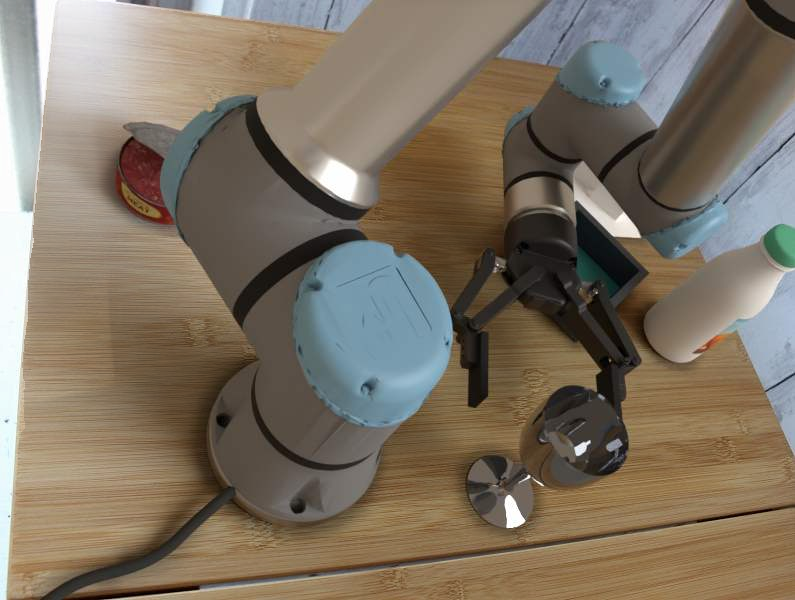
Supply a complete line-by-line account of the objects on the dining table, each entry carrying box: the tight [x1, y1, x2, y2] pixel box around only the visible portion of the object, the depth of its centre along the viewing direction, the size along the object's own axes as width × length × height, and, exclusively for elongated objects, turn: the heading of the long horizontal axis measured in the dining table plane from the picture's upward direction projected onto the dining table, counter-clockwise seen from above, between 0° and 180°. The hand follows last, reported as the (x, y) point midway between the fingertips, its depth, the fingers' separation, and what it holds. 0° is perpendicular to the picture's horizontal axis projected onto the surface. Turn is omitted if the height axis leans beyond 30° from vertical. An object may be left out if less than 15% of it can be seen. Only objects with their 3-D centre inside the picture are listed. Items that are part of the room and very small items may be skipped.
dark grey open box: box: [549, 200, 650, 343], centre depth 96 cm, size 12×12×5 cm
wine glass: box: [466, 384, 630, 529], centre depth 73 cm, size 8×8×15 cm
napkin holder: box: [573, 161, 642, 239], centre depth 105 cm, size 15×11×6 cm
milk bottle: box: [643, 223, 795, 364], centre depth 91 cm, size 8×8×20 cm
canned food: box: [113, 121, 181, 227], centre depth 80 cm, size 11×10×10 cm
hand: (546, 417), depth 76 cm, fingers open, 13 cm apart
